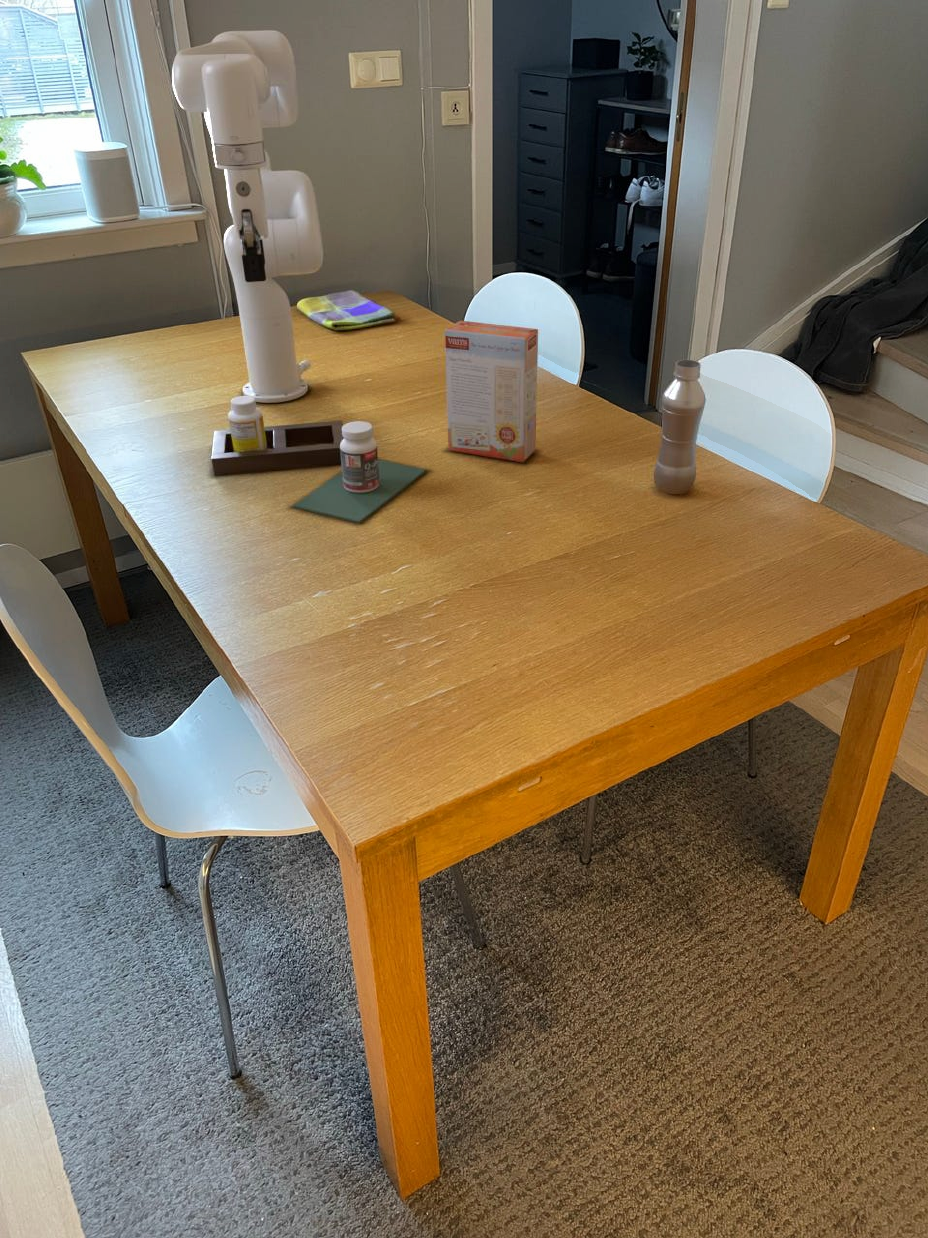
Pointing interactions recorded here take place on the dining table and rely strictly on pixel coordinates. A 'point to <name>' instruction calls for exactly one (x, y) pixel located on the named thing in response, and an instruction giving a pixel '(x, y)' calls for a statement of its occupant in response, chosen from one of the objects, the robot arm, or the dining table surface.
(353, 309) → the dish towel
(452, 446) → the cracker box
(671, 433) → the plastic bottle
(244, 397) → the supplement bottle
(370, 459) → the pill bottle
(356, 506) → the mat
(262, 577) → the dining table surface
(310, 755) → the dining table surface
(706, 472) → the dining table surface
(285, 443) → the rack
